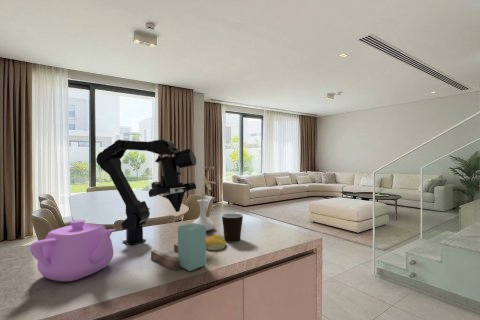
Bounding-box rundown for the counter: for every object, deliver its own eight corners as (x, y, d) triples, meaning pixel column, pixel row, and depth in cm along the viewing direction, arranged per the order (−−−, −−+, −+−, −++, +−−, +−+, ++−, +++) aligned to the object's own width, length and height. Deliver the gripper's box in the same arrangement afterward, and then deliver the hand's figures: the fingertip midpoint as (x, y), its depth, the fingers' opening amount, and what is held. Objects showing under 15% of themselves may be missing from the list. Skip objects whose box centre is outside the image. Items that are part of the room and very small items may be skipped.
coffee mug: (238, 244, 101) (238, 218, 101) (218, 241, 104) (218, 216, 104) (247, 235, 112) (247, 212, 112) (229, 233, 115) (228, 211, 115)
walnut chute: (151, 258, 87) (150, 250, 87) (177, 250, 95) (177, 243, 95) (174, 270, 77) (174, 262, 77) (201, 260, 85) (201, 252, 85)
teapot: (11, 285, 68) (10, 228, 68) (84, 257, 88) (84, 212, 88) (71, 303, 60) (70, 238, 60) (137, 267, 80) (137, 218, 80)
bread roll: (200, 250, 95) (200, 239, 95) (207, 242, 103) (207, 232, 103) (222, 252, 93) (222, 240, 93) (228, 243, 102) (228, 233, 102)
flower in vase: (213, 233, 115) (213, 177, 115) (187, 233, 115) (187, 177, 115) (216, 225, 128) (216, 175, 128) (193, 225, 128) (193, 175, 128)
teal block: (178, 265, 80) (178, 226, 80) (193, 259, 84) (193, 222, 84) (189, 271, 76) (189, 230, 76) (205, 264, 80) (205, 226, 80)
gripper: (175, 174, 113) (182, 210, 111) (136, 177, 97) (143, 219, 95) (193, 168, 106) (200, 206, 104) (154, 171, 91) (162, 215, 89)
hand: (177, 211), depth 98 cm, fingers closed
